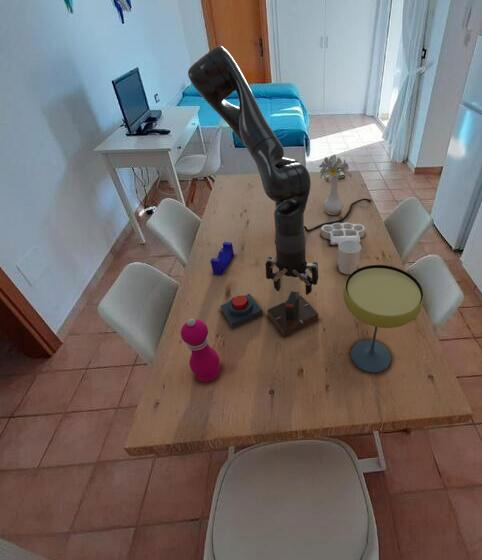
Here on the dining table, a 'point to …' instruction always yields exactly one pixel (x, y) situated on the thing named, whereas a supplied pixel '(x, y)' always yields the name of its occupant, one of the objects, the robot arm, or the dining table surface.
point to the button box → (241, 312)
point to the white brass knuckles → (342, 232)
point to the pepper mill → (200, 350)
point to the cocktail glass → (380, 308)
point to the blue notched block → (222, 258)
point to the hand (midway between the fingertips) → (293, 291)
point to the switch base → (301, 320)
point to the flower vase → (333, 183)
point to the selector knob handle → (292, 305)
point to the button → (239, 302)
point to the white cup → (348, 256)
